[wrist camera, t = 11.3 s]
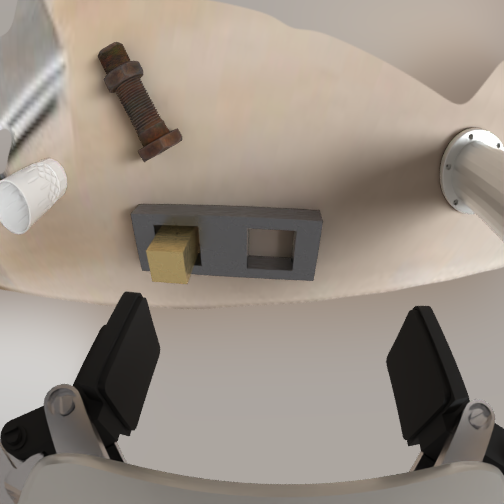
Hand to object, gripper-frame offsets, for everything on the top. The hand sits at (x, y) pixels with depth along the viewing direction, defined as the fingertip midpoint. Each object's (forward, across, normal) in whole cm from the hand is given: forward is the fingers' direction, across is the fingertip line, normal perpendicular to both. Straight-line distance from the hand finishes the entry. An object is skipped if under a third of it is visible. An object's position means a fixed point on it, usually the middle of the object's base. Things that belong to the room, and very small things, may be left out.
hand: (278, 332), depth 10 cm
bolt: (+29, +16, -6) cm, 34 cm away
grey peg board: (+28, +6, +13) cm, 32 cm away
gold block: (+28, +12, +13) cm, 33 cm away
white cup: (+28, +33, +4) cm, 44 cm away
